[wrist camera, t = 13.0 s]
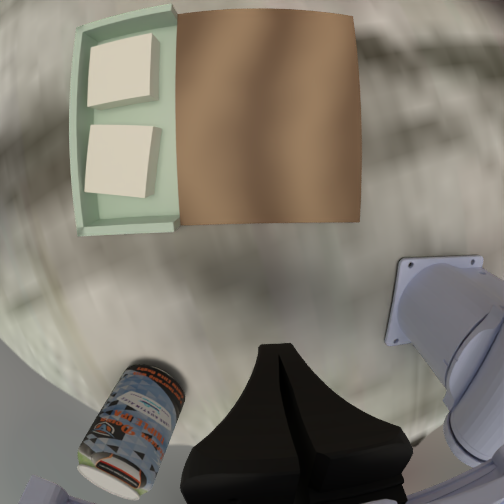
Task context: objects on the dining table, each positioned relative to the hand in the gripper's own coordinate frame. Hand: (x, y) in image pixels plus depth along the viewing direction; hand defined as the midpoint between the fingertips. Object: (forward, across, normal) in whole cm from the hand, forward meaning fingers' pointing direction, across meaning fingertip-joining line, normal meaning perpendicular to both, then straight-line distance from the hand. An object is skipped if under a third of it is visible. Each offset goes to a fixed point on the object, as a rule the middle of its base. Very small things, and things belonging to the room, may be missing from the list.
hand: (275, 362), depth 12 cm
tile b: (+10, +9, -15) cm, 20 cm away
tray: (+11, +9, -11) cm, 18 cm away
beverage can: (+11, +10, +11) cm, 19 cm away
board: (+10, -1, -11) cm, 15 cm away
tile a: (+10, +9, -9) cm, 16 cm away
